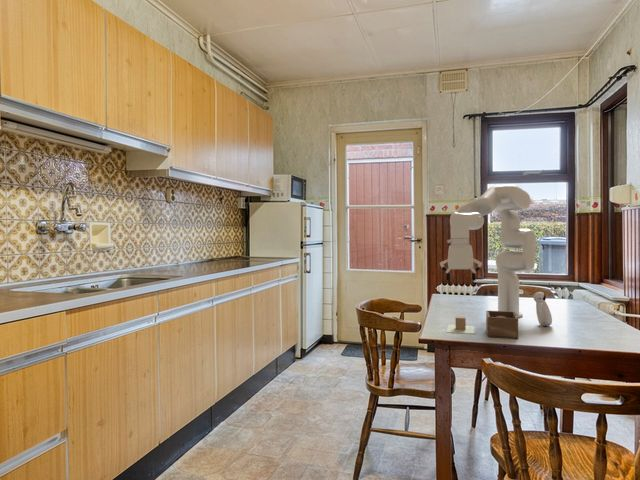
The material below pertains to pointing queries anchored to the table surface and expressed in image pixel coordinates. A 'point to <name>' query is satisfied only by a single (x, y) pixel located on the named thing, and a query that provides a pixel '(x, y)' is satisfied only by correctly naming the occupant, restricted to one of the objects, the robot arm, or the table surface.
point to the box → (502, 324)
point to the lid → (460, 326)
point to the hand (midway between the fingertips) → (461, 282)
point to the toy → (542, 309)
